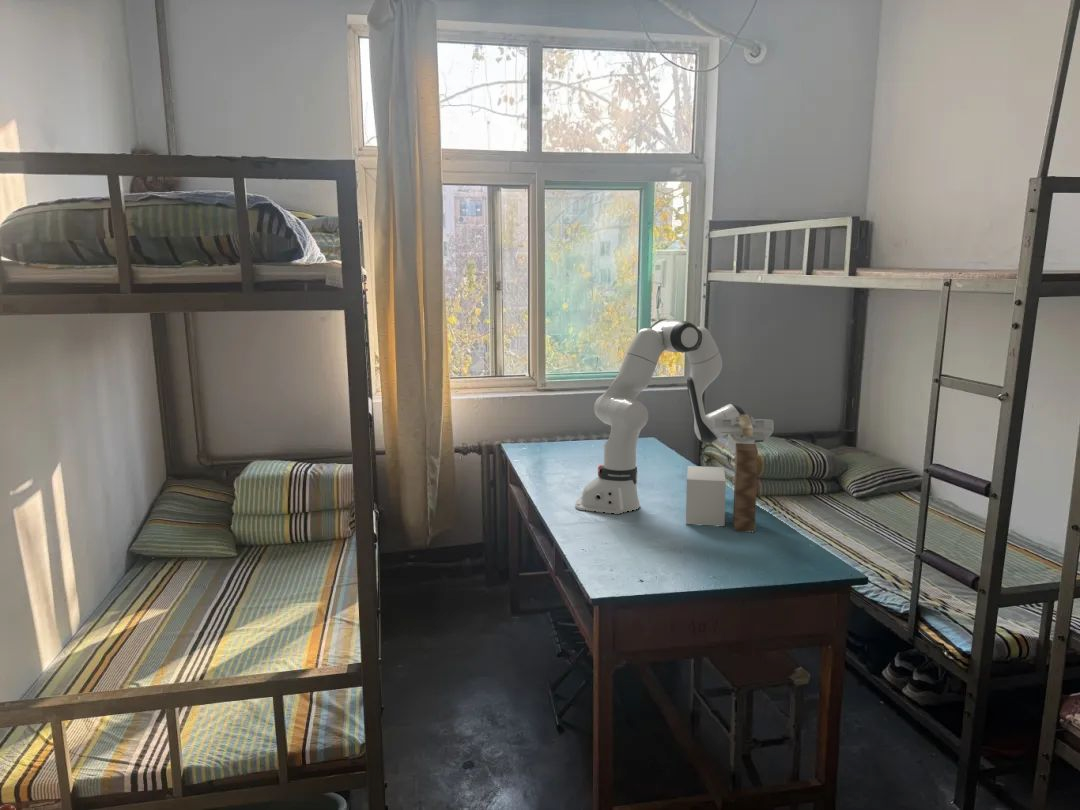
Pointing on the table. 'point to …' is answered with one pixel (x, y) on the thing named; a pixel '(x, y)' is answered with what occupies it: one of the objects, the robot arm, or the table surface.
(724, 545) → the table surface
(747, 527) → the post
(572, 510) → the table surface
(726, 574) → the table surface
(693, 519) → the white upright block
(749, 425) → the slat
